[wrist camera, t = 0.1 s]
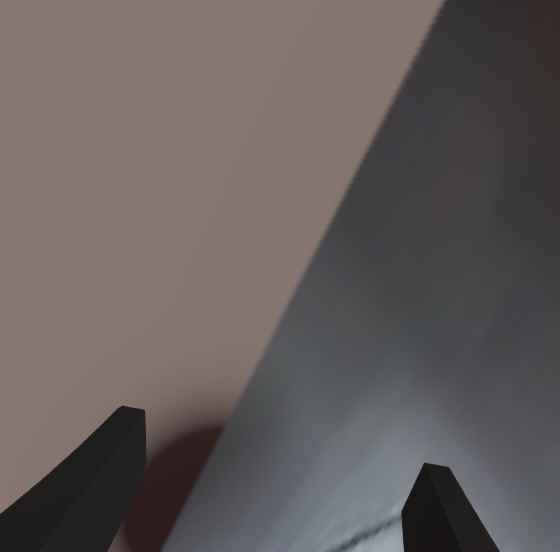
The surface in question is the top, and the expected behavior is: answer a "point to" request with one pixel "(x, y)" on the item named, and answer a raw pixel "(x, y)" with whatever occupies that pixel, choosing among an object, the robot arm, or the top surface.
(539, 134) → the top surface
